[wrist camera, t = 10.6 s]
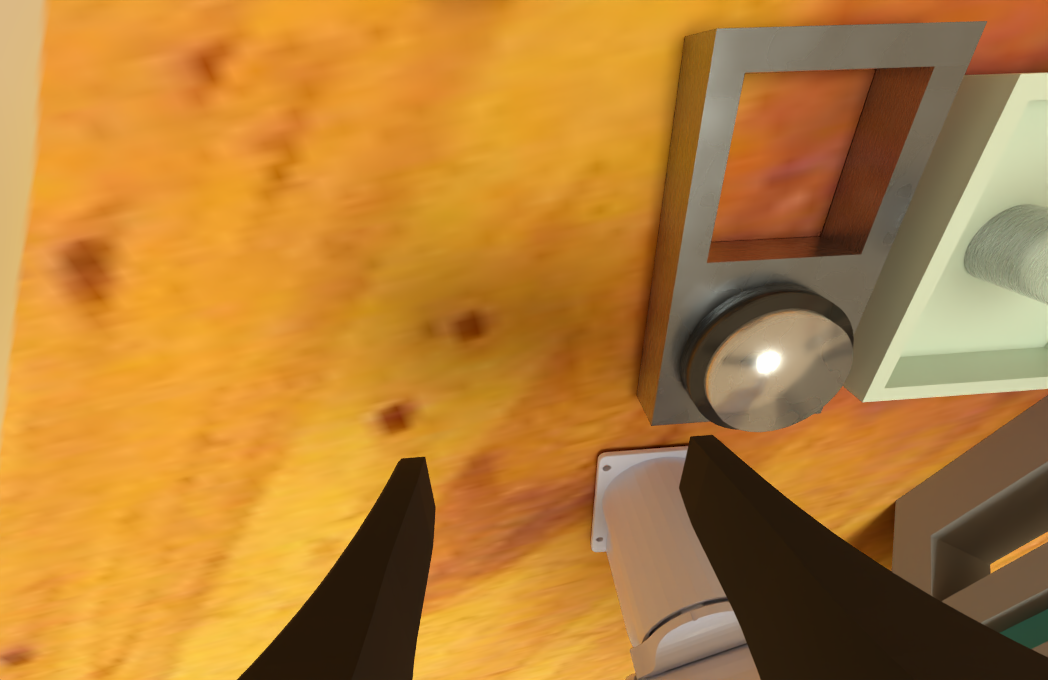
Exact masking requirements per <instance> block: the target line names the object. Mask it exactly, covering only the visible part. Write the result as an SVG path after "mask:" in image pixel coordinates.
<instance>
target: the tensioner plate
mask: <svg viewBox="0 0 1048 680" xmlns="http://www.w3.org/2000/svg"><path fill="white" fill-rule="evenodd" d="M986 23H987V21H978V22H941V23H905V24H868V25H832V26H796V27H759V28H723V29H714V30H710V31H706V32H702V33H698V34H694V35H690V36H686V37H685V41H684V48H683V56H682V63H681V71H680V78H679V85H678V93H677V100H676V108H675V115H674V122H673V130H672V137H671V145H670V152H669V160H668V167H667V174H666V182H665V189H664V197H663V204H662V212H661V219H660V226H659V234H658V241H657V249H656V256H655V263H654V271H653V278H652V286H651V293H650V301H649V308H648V315H647V323H646V330H645V338H644V345H643V352H642V360H641V367H640V375H639V382H638V390H637V397H638V399H639V401H640V403H641V405H642V407H643V409H644V411H645V414H646V416H647V418H648V420H649V422H650V424H651V426H655V425H668V424H682V423H695V422H709V421H711V422H713V423H715V424H717V425H719V426H722V427H725V428H730V429H738V430H743V431H749V432H766V431H773V430H777V429H781V428H785V427H788V426H791V425H793V424H796V423H798V422H800V421H802V420H804V419H806V418H807V417H809V416H811V415H812V414H817V413H821V411H822V409H823V406H824V405H826V404H827V403H828V402H829V401H830V400H831V399H832V398H833V397H834V396H835V395H836V393H837V392H838V391H839V390H840V388H841V387H842V385H843V384H844V382H845V381H846V379H847V377H848V375H849V372H850V369H851V366H852V361H853V343H854V333H855V331H856V329H857V326H858V324H859V322H860V319H861V317H862V315H863V312H864V310H865V307H866V305H867V303H868V300H869V298H870V296H871V293H872V291H873V289H874V286H875V284H876V282H877V279H878V277H879V275H880V272H881V270H882V268H883V265H884V263H885V260H886V258H887V256H888V253H889V251H890V249H891V246H892V244H893V242H894V239H895V237H896V235H897V232H898V230H899V228H900V225H901V223H902V220H903V218H904V216H905V213H906V211H907V209H908V206H909V204H910V202H911V199H912V197H913V195H914V192H915V190H916V188H917V185H918V183H919V181H920V178H921V176H922V173H923V171H924V169H925V166H926V164H927V162H928V159H929V157H930V155H931V152H932V150H933V148H934V145H935V143H936V141H937V138H938V136H939V133H940V131H941V129H942V126H943V124H944V122H945V119H946V117H947V115H948V112H949V110H950V108H951V105H952V103H953V101H954V98H955V96H956V94H957V91H958V89H959V86H960V84H961V82H962V79H963V77H964V75H965V72H966V70H967V68H968V65H969V63H970V61H971V58H972V56H973V54H974V51H975V49H976V46H977V44H978V42H979V39H980V37H981V35H982V32H983V30H984V28H985V25H986ZM862 69H877V70H876V73H875V76H874V79H873V82H872V85H871V88H870V91H869V94H868V97H867V100H866V103H865V106H864V109H863V112H862V115H861V118H860V121H859V124H858V127H857V130H856V133H855V136H854V139H853V142H852V145H851V148H850V151H849V154H848V157H847V160H846V163H845V166H844V169H843V172H842V175H841V178H840V181H839V184H838V187H837V190H836V193H835V196H834V199H833V202H832V205H831V208H830V211H829V214H828V217H827V220H826V223H825V226H824V229H823V232H822V235H821V236H819V237H800V238H781V239H762V240H743V241H724V242H711V239H712V234H713V229H714V224H715V219H716V214H717V209H718V204H719V199H720V194H721V189H722V184H723V179H724V174H725V169H726V164H727V159H728V154H729V149H730V144H731V139H732V134H733V129H734V124H735V119H736V114H737V109H738V104H739V99H740V94H741V89H742V84H743V79H744V74H745V73H771V72H802V71H832V70H862Z"/></svg>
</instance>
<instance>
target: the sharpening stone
mask: <svg viewBox="0 0 1048 680" xmlns="http://www.w3.org/2000/svg"><path fill="white" fill-rule="evenodd" d="M1046 532H1048V395H1047V396H1046V397H1044V398H1043V399H1041V400H1040V401H1039V402H1037V403H1036V404H1034V405H1033V406H1031V407H1030V408H1028V409H1027V410H1026V411H1024V412H1023V413H1021V414H1020V415H1018V416H1017V417H1016V418H1014V419H1013V420H1011V421H1010V422H1008V423H1007V424H1005V425H1004V426H1003V427H1001V428H1000V429H998V430H997V431H995V432H994V433H993V434H991V435H990V436H988V437H987V438H985V439H984V440H982V441H981V442H980V443H978V444H977V445H975V446H974V447H972V448H971V449H970V450H968V451H967V452H965V453H964V454H962V455H961V456H959V457H958V458H957V459H955V460H954V461H952V462H951V463H949V464H948V465H947V466H945V467H944V468H942V469H941V470H939V471H938V472H936V473H935V474H934V475H932V476H931V477H929V478H928V479H926V480H925V481H924V482H922V483H921V484H919V485H918V486H916V487H915V488H913V489H912V490H911V491H909V492H908V493H906V494H905V495H903V496H902V497H901V498H899V499H898V500H896V506H895V523H894V541H893V558H892V572H893V573H894V574H896V575H898V576H899V577H901V578H903V579H904V580H906V581H908V582H909V583H911V584H913V585H914V586H916V587H918V588H919V589H921V590H923V591H924V592H926V593H928V594H929V595H931V596H933V597H935V598H936V599H938V600H940V601H942V602H943V603H945V604H947V605H949V606H950V607H952V608H954V609H956V610H958V611H959V612H961V613H963V614H965V615H967V616H968V617H970V618H972V619H974V620H976V621H978V622H980V623H982V624H983V625H985V626H987V627H989V628H991V629H993V630H995V631H997V632H998V633H1000V634H1002V635H1004V636H1006V637H1008V638H1010V639H1012V640H1014V641H1016V642H1018V643H1020V644H1022V645H1024V646H1026V647H1028V648H1030V649H1032V650H1034V651H1036V652H1038V653H1040V654H1042V655H1044V656H1046V657H1048V542H1047V543H1045V544H1043V545H1041V546H1040V547H1038V548H1036V549H1034V550H1033V551H1031V552H1029V553H1027V554H1025V555H1024V556H1022V557H1020V558H1018V559H1016V560H1015V561H1013V562H1011V563H1009V564H1007V565H1006V566H1004V567H1002V568H1000V569H998V570H997V571H995V572H993V573H991V574H990V564H991V563H993V562H995V561H996V560H998V559H1000V558H1002V557H1003V556H1005V555H1007V554H1009V553H1011V552H1012V551H1014V550H1016V549H1018V548H1019V547H1021V546H1023V545H1025V544H1026V543H1028V542H1030V541H1032V540H1033V539H1035V538H1037V537H1039V536H1040V535H1042V534H1044V533H1046Z"/></svg>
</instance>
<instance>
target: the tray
mask: <svg viewBox="0 0 1048 680" xmlns="http://www.w3.org/2000/svg"><path fill="white" fill-rule="evenodd" d="M1023 204H1032V205H1037V206H1042V207H1047V208H1048V72H1039V73H1009V74H980V75H964V77H963V79H962V82H961V84H960V86H959V89H958V91H957V94H956V96H955V98H954V101H953V103H952V105H951V108H950V110H949V112H948V115H947V117H946V119H945V122H944V124H943V126H942V129H941V131H940V133H939V136H938V138H937V141H936V143H935V145H934V148H933V150H932V152H931V155H930V157H929V159H928V162H927V164H926V166H925V169H924V171H923V173H922V176H921V178H920V181H919V183H918V185H917V188H916V190H915V192H914V195H913V197H912V199H911V202H910V204H909V206H908V209H907V211H906V213H905V216H904V218H903V220H902V223H901V225H900V228H899V230H898V232H897V235H896V237H895V239H894V242H893V244H892V246H891V249H890V251H889V253H888V256H887V258H886V260H885V263H884V265H883V268H882V270H881V272H880V275H879V277H878V279H877V282H876V284H875V286H874V289H873V291H872V293H871V296H870V298H869V300H868V303H867V305H866V307H865V310H864V312H863V315H862V317H861V319H860V322H859V324H858V326H857V329H856V331H855V333H854V343H853V361H852V366H851V369H850V372H849V375H848V377H847V379H846V381H845V382H844V384H843V385H842V386H844V387H845V388H846V389H847V390H848V391H850V392H851V393H852V394H853V395H854V396H856V397H857V398H858V399H859V400H860V401H862V402H873V401H887V400H901V399H914V398H928V397H942V396H955V395H969V394H983V393H996V392H1010V391H1024V390H1037V389H1048V305H1047V304H1044V303H1041V302H1039V301H1036V300H1033V299H1031V298H1028V297H1026V296H1023V295H1020V294H1018V293H1015V292H1012V291H1010V290H1007V289H1004V288H1002V287H999V286H996V285H994V284H991V283H988V282H986V281H983V280H980V279H978V278H975V277H973V276H971V275H970V274H969V273H968V272H967V271H966V269H965V265H964V257H965V253H966V250H967V247H968V245H969V243H970V241H971V240H972V238H973V237H974V235H975V234H976V233H977V232H978V230H979V229H980V228H981V227H982V226H983V225H984V224H985V223H986V222H988V221H989V220H990V219H991V218H993V217H994V216H996V215H997V214H999V213H1001V212H1002V211H1004V210H1006V209H1009V208H1011V207H1014V206H1018V205H1023Z"/></svg>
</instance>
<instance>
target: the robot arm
mask: <svg viewBox="0 0 1048 680" xmlns="http://www.w3.org/2000/svg"><path fill="white" fill-rule="evenodd" d="M606 465H607V466H606ZM434 524H435V503H434V498H433V493H432V488H431V484H430V479H429V474H428V469H427V464H426V459H425V457H416V458H403V459H401V460H400V461H399V462H398V464H397V465H396V467H395V469H394V471H393V473H392V475H391V477H390V479H389V480H388V482H387V484H386V486H385V488H384V489H383V491H382V493H381V494H380V496H379V498H378V499H377V501H376V503H375V505H374V506H373V508H372V509H371V511H370V513H369V514H368V516H367V517H366V519H365V520H364V522H363V524H362V525H361V527H360V528H359V530H358V532H357V533H356V535H355V536H354V538H353V539H352V540H351V542H350V543H349V545H348V546H347V548H346V549H345V550H344V552H343V553H342V555H341V556H340V558H339V559H338V560H337V562H336V563H335V565H334V566H333V568H332V569H331V570H330V572H329V573H328V574H327V576H326V577H325V578H324V580H323V581H322V582H321V584H320V585H319V586H318V588H317V589H316V590H315V591H314V593H313V594H312V595H311V596H310V598H309V599H308V600H307V601H306V603H305V604H304V605H303V606H302V608H301V609H300V610H299V611H298V612H297V614H296V615H295V616H294V617H293V618H292V619H291V621H290V622H289V623H288V624H287V625H286V626H285V628H284V629H283V630H282V631H281V632H280V633H279V635H278V636H277V637H276V638H275V639H274V640H273V642H272V643H271V644H270V645H269V646H268V647H267V648H266V649H265V651H264V652H263V653H262V654H261V655H260V656H259V657H258V658H257V659H256V660H255V661H254V663H253V664H252V665H251V666H250V667H249V668H248V669H247V670H246V671H245V672H244V673H243V674H242V675H241V676H240V677H239V678H238V679H237V680H412V678H413V667H414V657H415V650H416V643H417V636H418V630H419V625H420V619H421V613H422V608H423V602H424V596H425V590H426V585H427V579H428V573H429V567H430V561H431V555H432V549H433V539H434ZM591 548H592V550H593V551H594V552H605V551H606V552H607V556H608V560H609V564H610V568H611V572H612V576H613V580H614V584H615V587H616V591H617V595H618V599H619V603H620V607H621V611H622V615H623V619H624V622H625V626H626V630H627V634H628V636H629V639H630V642H631V644H632V646H633V648H631V649H630V653H631V657H632V661H633V665H634V669H635V673H634V674H631V675H629V676H628V677H626V679H625V680H1048V657H1046V656H1044V655H1042V654H1040V653H1038V652H1036V651H1034V650H1032V649H1030V648H1028V647H1026V646H1024V645H1022V644H1020V643H1018V642H1016V641H1014V640H1012V639H1010V638H1008V637H1006V636H1004V635H1002V634H1000V633H998V632H997V631H995V630H993V629H991V628H989V627H987V626H985V625H983V624H982V623H980V622H978V621H976V620H974V619H972V618H970V617H968V616H967V615H965V614H963V613H961V612H959V611H958V610H956V609H954V608H952V607H950V606H949V605H947V604H945V603H943V602H942V601H940V600H938V599H936V598H935V597H933V596H931V595H929V594H928V593H926V592H924V591H923V590H921V589H919V588H918V587H916V586H914V585H913V584H911V583H909V582H908V581H906V580H904V579H903V578H901V577H899V576H898V575H896V574H894V573H893V572H891V571H890V570H888V569H887V568H885V567H883V566H882V565H880V564H879V563H877V562H876V561H874V560H873V559H871V558H870V557H868V556H867V555H865V554H864V553H862V552H861V551H859V550H858V549H856V548H855V547H853V546H852V545H850V544H849V543H847V542H846V541H844V540H843V539H841V538H840V537H838V536H837V535H836V534H834V533H833V532H831V531H830V530H829V529H827V528H826V527H825V526H823V525H822V524H821V523H819V522H818V521H817V520H815V519H814V518H813V517H811V516H810V515H809V514H807V513H806V512H805V511H803V510H802V509H801V508H799V507H798V506H797V505H796V504H794V503H793V502H792V501H790V500H789V499H788V498H787V497H785V496H784V495H783V494H782V493H780V492H779V491H778V490H777V489H776V488H774V487H773V486H772V485H771V484H769V483H768V482H767V481H766V480H765V479H763V478H762V477H761V476H760V475H759V474H758V473H756V472H755V471H754V470H753V469H752V468H750V467H749V466H748V465H747V464H746V463H745V462H743V461H742V460H741V459H740V458H739V457H738V456H736V455H735V454H734V453H733V452H732V451H731V450H730V449H728V448H727V447H726V446H725V445H724V444H723V443H721V442H720V441H719V440H718V439H717V438H715V437H714V436H713V435H706V436H693V437H690V441H689V446H680V447H667V448H654V449H641V450H628V451H615V452H605V453H602V454H600V455H599V457H598V462H597V474H596V486H595V498H594V510H593V522H592V534H591Z"/></svg>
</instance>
